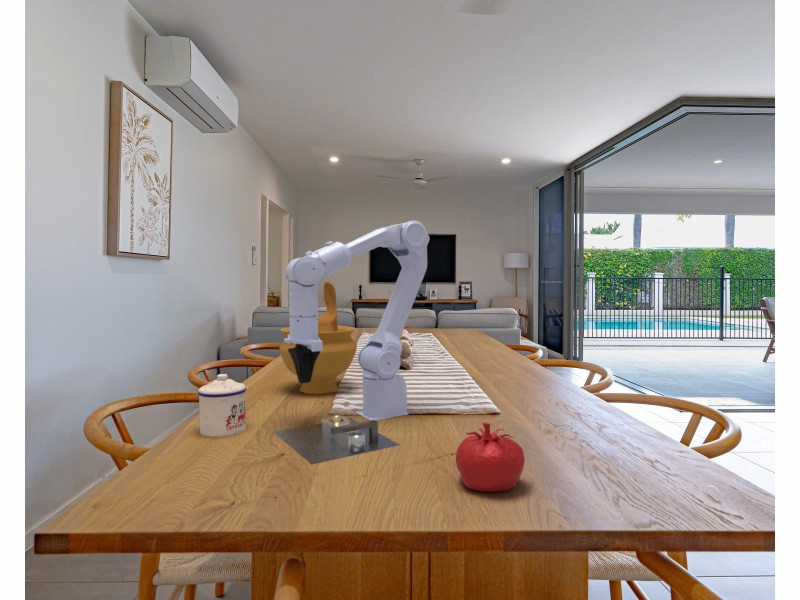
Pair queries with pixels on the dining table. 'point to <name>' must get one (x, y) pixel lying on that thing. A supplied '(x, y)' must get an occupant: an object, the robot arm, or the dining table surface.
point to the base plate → (326, 443)
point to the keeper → (358, 426)
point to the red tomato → (489, 461)
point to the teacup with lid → (222, 407)
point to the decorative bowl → (326, 349)
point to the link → (344, 435)
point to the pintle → (336, 418)
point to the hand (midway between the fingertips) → (304, 382)
